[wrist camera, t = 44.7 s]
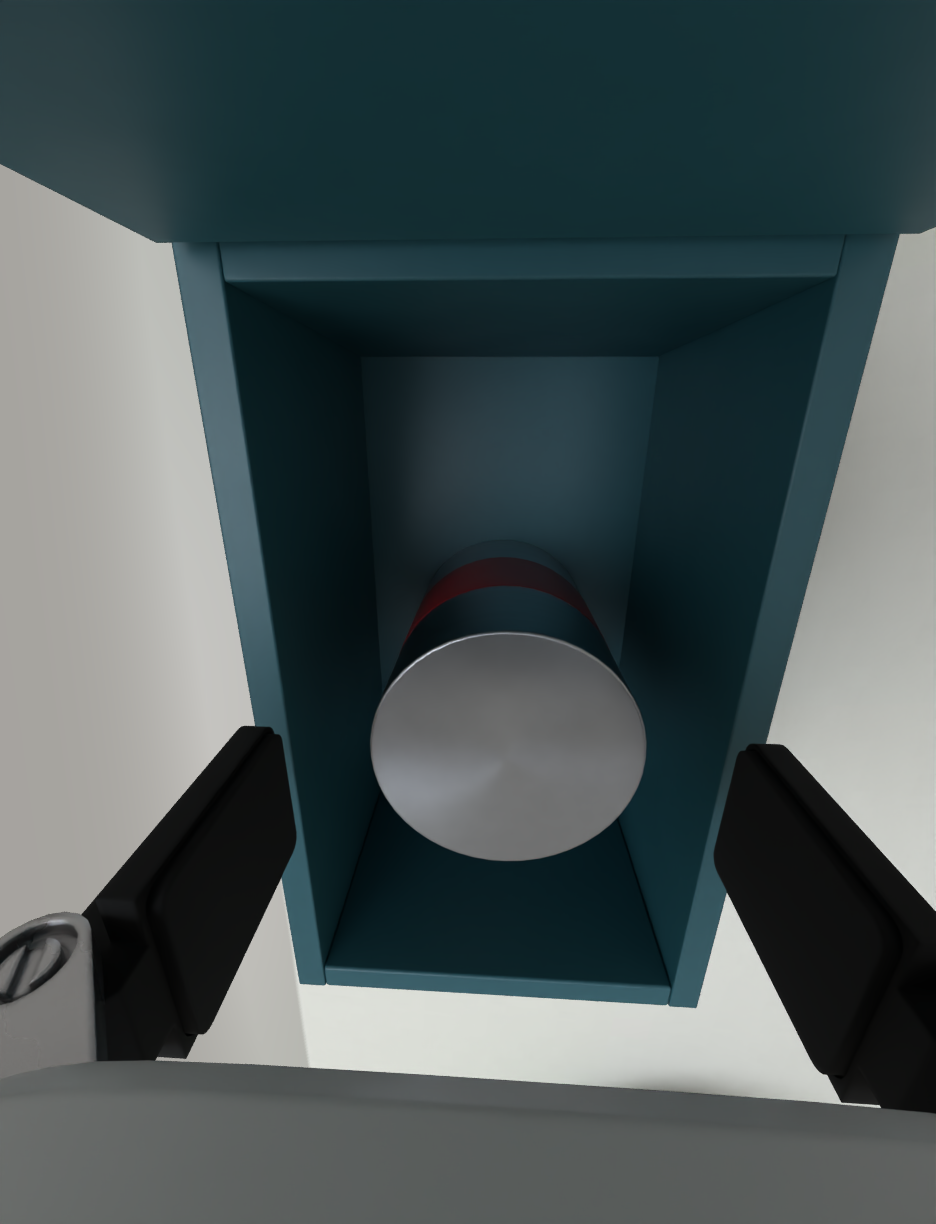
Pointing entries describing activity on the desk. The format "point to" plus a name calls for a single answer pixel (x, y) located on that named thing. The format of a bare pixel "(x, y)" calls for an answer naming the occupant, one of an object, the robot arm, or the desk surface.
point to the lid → (476, 116)
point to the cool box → (536, 515)
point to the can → (507, 712)
